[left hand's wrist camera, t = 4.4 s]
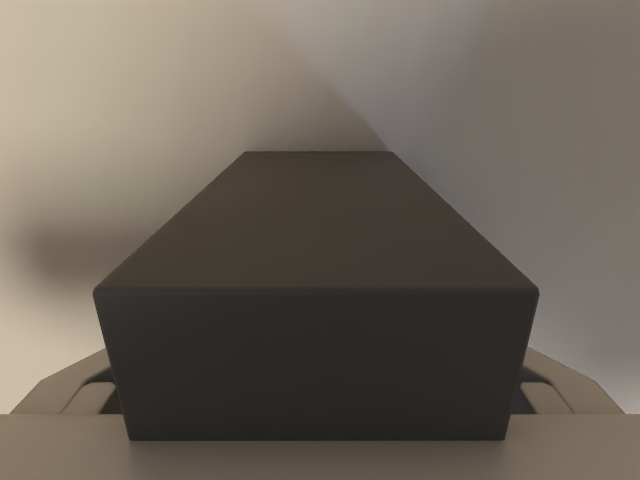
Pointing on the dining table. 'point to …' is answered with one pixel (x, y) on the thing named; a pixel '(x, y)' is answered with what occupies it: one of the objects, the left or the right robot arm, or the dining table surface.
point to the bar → (316, 311)
